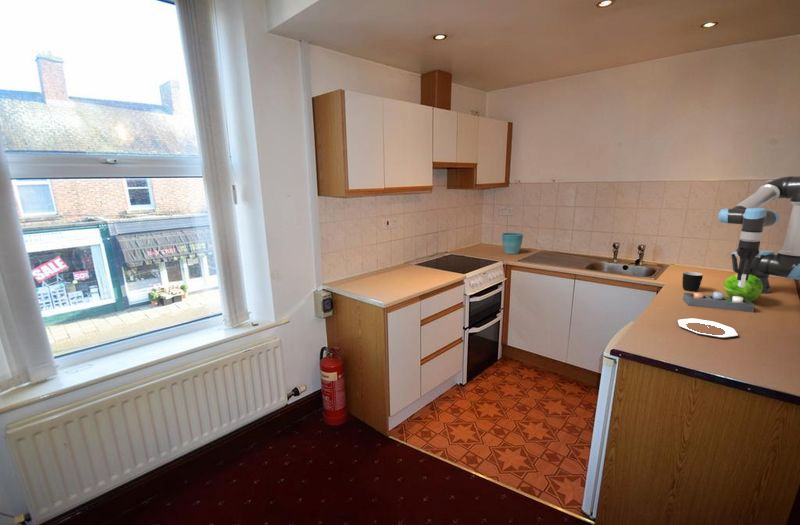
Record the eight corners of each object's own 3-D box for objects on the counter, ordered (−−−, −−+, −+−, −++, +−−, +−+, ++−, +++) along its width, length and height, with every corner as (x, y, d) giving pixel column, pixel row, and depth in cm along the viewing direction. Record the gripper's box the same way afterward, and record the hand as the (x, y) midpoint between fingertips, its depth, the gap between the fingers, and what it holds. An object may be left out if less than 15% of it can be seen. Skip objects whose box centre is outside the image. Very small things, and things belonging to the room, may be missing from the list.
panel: (744, 305, 189) (745, 298, 188) (753, 312, 180) (754, 304, 179) (682, 299, 199) (683, 292, 198) (688, 305, 190) (689, 298, 189)
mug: (701, 293, 210) (704, 276, 208) (682, 291, 214) (685, 274, 212) (696, 287, 220) (699, 271, 218) (678, 285, 224) (681, 269, 222)
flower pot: (501, 254, 318) (502, 235, 315) (499, 250, 336) (500, 232, 332) (523, 255, 316) (524, 235, 312) (520, 251, 333) (521, 232, 329)
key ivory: (739, 303, 187) (741, 296, 186) (743, 306, 184) (744, 298, 183) (729, 302, 189) (731, 295, 188) (733, 305, 185) (734, 297, 184)
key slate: (720, 299, 190) (722, 292, 189) (723, 301, 186) (725, 294, 185) (711, 298, 192) (712, 291, 191) (713, 300, 188) (715, 293, 187)
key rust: (701, 300, 193) (702, 292, 192) (703, 302, 190) (705, 295, 189) (691, 299, 195) (693, 292, 194) (694, 301, 191) (695, 294, 190)
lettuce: (713, 290, 212) (748, 297, 205) (725, 301, 192) (764, 310, 185) (723, 266, 207) (759, 272, 201) (735, 275, 188) (776, 283, 181)
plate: (741, 343, 148) (741, 340, 147) (680, 333, 158) (680, 330, 157) (730, 327, 164) (731, 323, 164) (675, 318, 174) (676, 315, 174)
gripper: (763, 239, 179) (754, 285, 185) (729, 238, 185) (721, 283, 190) (771, 242, 173) (761, 289, 178) (736, 240, 178) (727, 287, 183)
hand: (740, 286), depth 184 cm, fingers closed
